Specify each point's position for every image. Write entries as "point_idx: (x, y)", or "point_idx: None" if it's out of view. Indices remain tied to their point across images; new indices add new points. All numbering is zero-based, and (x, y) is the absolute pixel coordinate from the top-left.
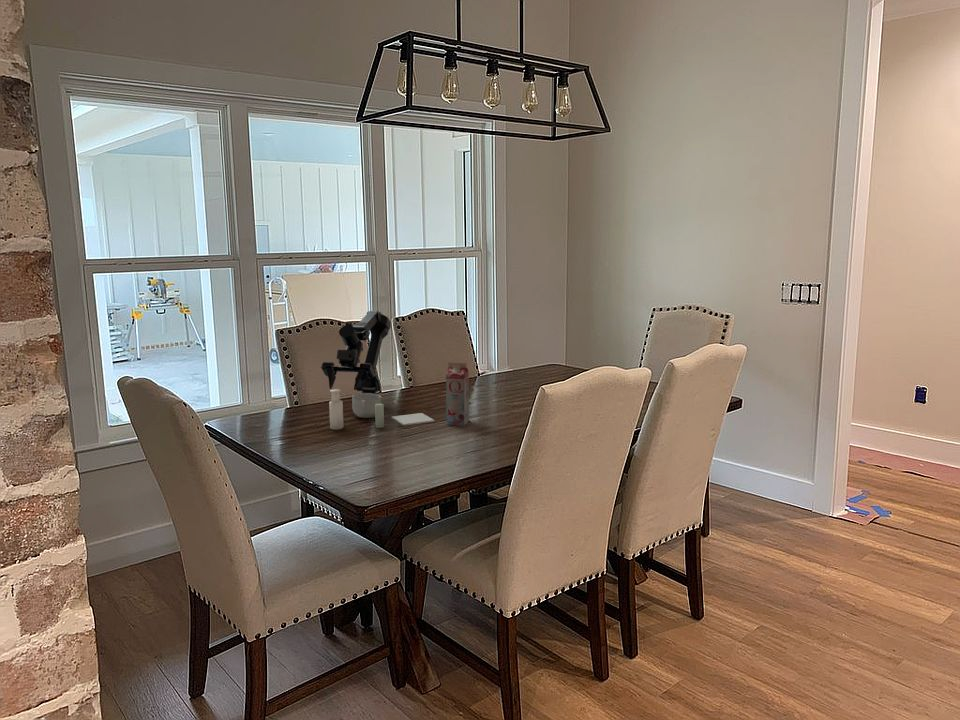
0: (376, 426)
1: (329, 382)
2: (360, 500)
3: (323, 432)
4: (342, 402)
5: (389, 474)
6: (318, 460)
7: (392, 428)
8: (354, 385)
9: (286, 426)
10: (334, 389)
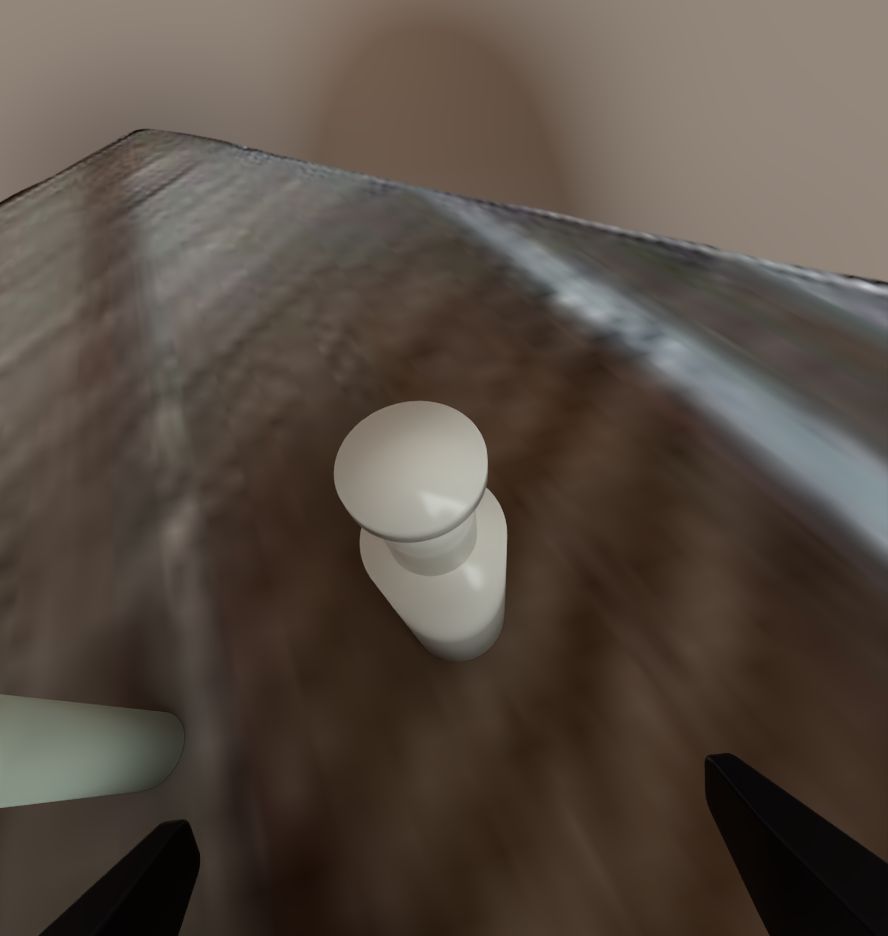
0: (169, 715)
1: (858, 854)
2: (151, 139)
3: None
4: (365, 562)
5: (92, 227)
6: (319, 232)
7: None
8: (130, 887)
9: (820, 532)
10: (445, 491)
